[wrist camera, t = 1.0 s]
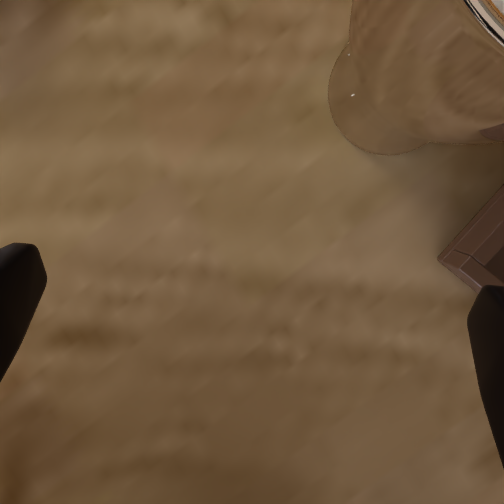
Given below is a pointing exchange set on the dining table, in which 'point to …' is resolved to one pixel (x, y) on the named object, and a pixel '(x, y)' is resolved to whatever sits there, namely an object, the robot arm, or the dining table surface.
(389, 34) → the beer glass
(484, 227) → the tray
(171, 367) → the dining table surface
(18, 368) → the dining table surface
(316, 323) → the dining table surface
